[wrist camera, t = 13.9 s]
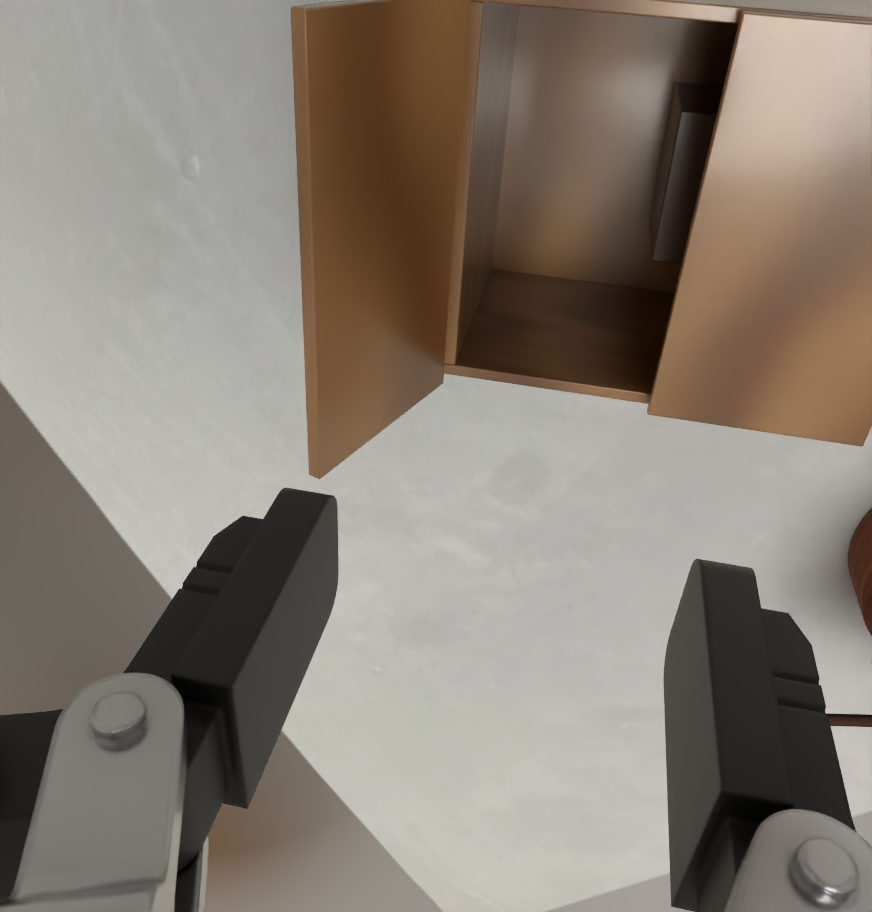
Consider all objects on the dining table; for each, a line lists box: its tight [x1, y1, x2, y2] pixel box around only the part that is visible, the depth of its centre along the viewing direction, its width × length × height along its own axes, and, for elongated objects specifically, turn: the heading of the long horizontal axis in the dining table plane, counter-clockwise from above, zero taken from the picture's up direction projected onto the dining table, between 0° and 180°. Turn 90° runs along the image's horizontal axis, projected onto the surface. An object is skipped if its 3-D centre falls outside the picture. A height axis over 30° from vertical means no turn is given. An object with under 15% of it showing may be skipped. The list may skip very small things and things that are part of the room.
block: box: [650, 82, 724, 264], centre depth 29 cm, size 5×5×5 cm
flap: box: [291, 0, 470, 479], centre depth 22 cm, size 7×12×1 cm
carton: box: [444, 0, 872, 446], centre depth 28 cm, size 14×12×10 cm
